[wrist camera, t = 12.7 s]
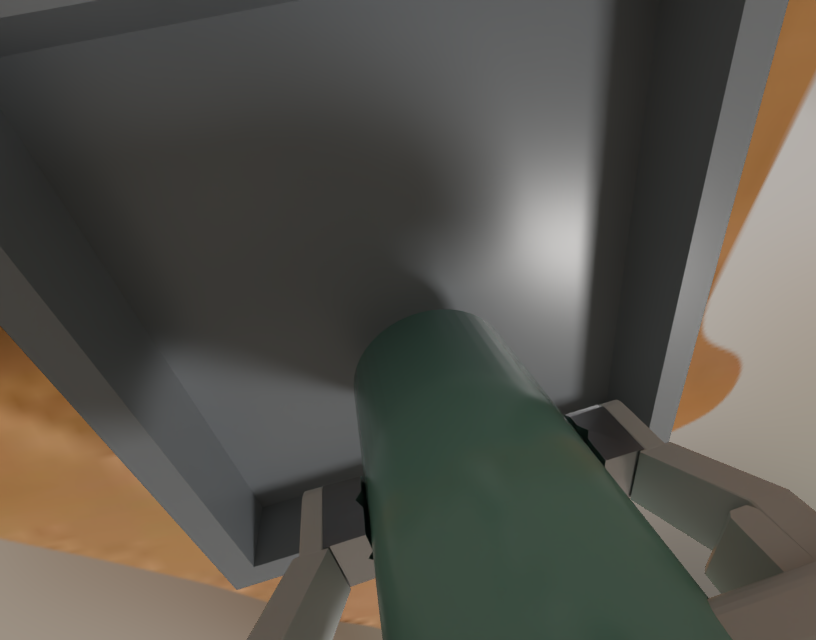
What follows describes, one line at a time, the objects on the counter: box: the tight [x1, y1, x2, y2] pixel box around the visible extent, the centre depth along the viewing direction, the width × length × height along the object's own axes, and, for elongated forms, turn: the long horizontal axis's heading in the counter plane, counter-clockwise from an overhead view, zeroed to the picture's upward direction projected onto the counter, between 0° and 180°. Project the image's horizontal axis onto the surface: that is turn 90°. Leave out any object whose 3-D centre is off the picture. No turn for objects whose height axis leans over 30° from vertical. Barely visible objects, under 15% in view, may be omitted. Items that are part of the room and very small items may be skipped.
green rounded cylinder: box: [353, 309, 732, 640], centre depth 9 cm, size 6×6×10 cm
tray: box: [0, 0, 789, 590], centre depth 13 cm, size 20×20×4 cm
